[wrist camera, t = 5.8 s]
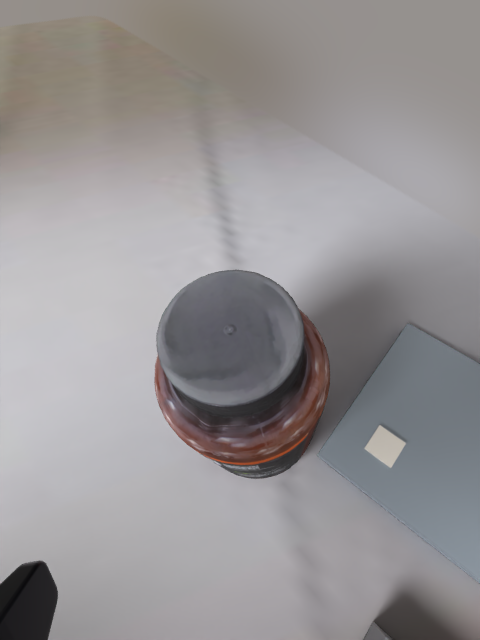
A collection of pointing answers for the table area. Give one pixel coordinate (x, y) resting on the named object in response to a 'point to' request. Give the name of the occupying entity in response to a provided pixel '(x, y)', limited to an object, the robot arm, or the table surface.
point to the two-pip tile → (419, 444)
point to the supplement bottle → (241, 372)
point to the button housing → (376, 633)
